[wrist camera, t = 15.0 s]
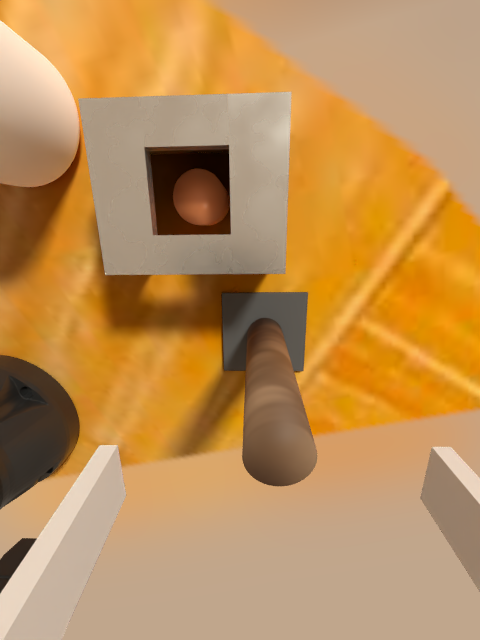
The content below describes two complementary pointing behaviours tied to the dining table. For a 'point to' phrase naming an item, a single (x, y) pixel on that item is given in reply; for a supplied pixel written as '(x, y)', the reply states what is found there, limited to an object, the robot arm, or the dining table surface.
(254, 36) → the dining table surface
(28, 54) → the cup
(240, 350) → the coaster
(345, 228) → the dining table surface
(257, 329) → the rod
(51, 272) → the dining table surface
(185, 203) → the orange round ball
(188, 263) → the grey box with hole
